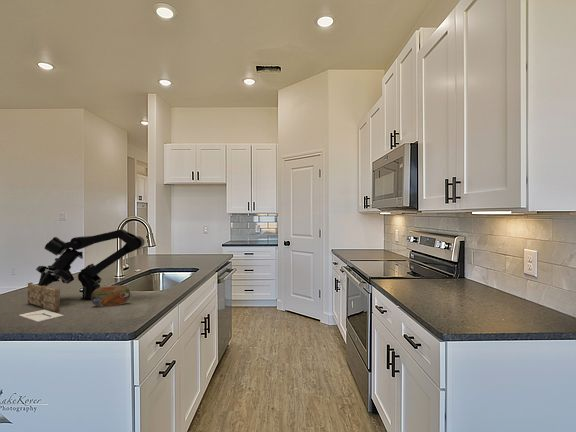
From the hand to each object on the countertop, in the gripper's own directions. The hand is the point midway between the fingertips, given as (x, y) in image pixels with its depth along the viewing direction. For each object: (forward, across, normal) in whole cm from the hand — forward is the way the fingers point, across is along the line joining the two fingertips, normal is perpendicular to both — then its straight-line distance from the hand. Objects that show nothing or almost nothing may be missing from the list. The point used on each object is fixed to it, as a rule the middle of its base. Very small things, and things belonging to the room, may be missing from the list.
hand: (38, 289), depth 147 cm
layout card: (+10, -18, 0) cm, 20 cm away
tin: (-7, -25, -17) cm, 31 cm away
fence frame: (+5, -11, -4) cm, 13 cm away
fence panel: (+5, 0, -4) cm, 6 cm away
